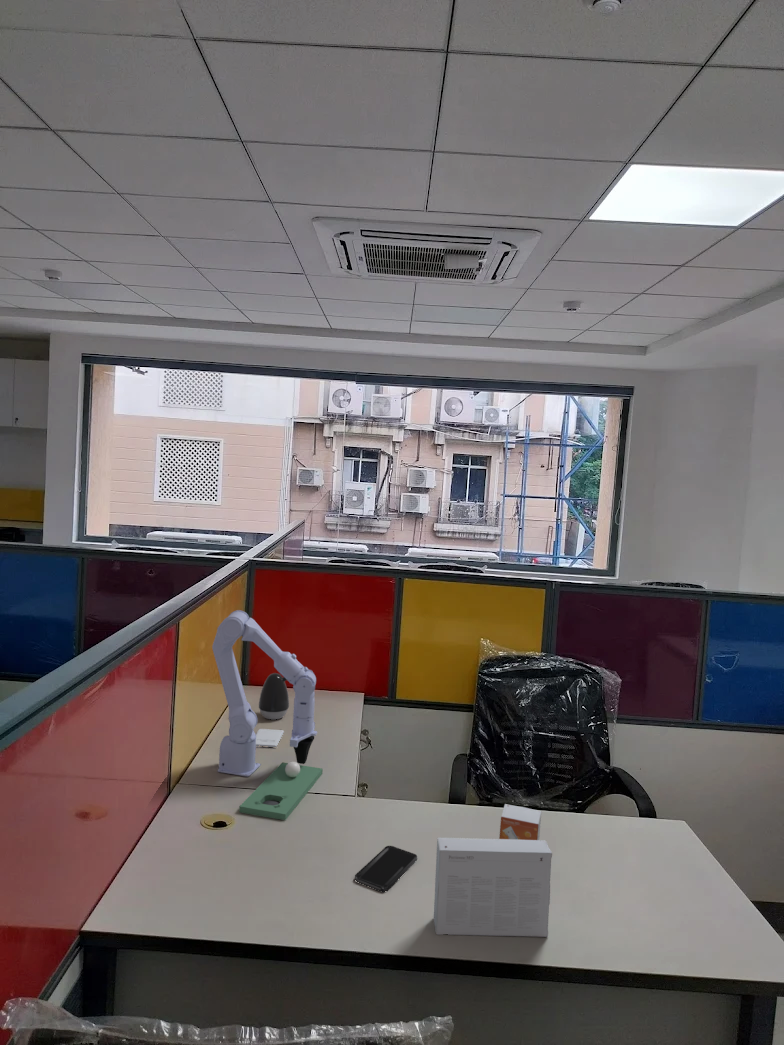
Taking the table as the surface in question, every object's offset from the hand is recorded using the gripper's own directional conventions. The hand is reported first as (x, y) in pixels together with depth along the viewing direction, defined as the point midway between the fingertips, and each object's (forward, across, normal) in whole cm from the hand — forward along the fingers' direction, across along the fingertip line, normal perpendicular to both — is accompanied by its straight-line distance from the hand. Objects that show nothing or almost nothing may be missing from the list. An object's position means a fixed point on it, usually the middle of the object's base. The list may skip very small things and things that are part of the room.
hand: (301, 762), depth 187 cm
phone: (+3, -38, -34) cm, 51 cm away
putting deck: (+3, -13, 0) cm, 13 cm away
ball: (-1, -7, 0) cm, 7 cm away
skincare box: (+3, -50, -57) cm, 76 cm away
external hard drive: (+3, +18, +18) cm, 26 cm away
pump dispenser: (+3, +37, +24) cm, 44 cm away
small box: (+3, -30, -61) cm, 68 cm away
